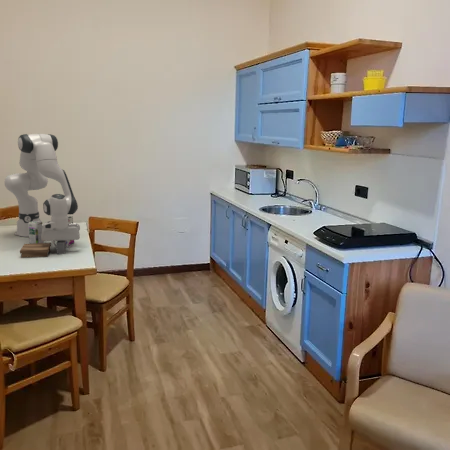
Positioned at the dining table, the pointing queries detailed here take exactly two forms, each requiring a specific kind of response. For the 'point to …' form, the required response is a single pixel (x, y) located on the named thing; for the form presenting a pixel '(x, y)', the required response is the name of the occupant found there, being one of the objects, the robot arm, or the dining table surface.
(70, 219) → the candy bar box
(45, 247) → the wooden stand
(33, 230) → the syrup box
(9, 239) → the dining table surface
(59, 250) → the block
